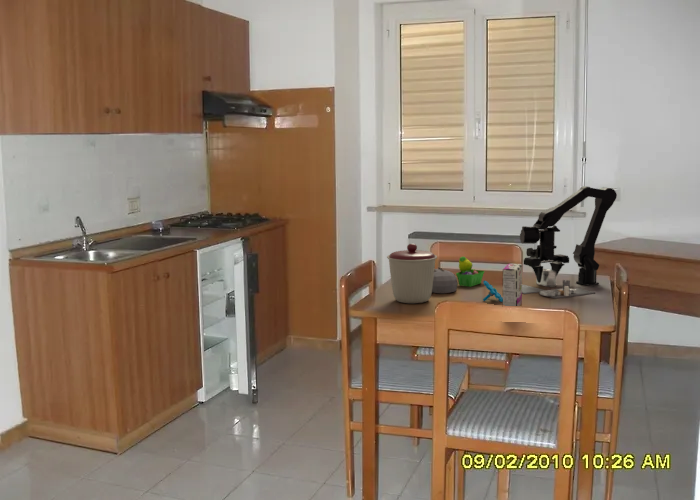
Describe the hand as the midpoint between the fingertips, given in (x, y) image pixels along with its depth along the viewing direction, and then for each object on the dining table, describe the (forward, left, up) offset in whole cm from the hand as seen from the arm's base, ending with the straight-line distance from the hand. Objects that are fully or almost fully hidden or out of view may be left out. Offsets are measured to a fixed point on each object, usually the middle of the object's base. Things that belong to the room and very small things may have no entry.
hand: (546, 281), depth 291 cm
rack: (+10, +19, -1) cm, 21 cm away
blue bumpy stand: (+37, +15, -2) cm, 40 cm away
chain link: (0, 0, -1) cm, 1 cm away
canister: (+62, +1, -2) cm, 62 cm away
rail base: (+5, +18, -1) cm, 19 cm away
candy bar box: (+44, +36, -2) cm, 57 cm away
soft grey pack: (+43, -13, -2) cm, 44 cm away
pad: (+14, +4, -1) cm, 15 cm away
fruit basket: (+26, -16, -2) cm, 31 cm away
